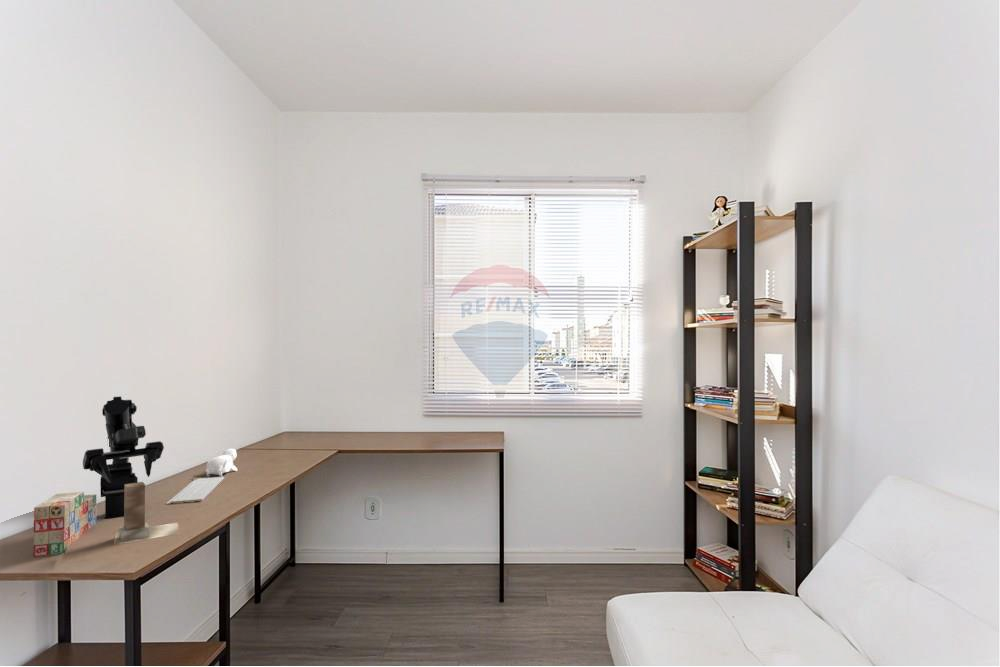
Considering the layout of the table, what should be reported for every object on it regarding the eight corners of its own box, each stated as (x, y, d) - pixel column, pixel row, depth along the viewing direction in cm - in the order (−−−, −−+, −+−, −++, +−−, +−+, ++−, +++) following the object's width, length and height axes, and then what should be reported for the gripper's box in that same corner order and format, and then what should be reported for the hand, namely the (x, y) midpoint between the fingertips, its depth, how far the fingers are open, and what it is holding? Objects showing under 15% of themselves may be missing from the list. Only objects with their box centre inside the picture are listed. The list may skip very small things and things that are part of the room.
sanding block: (121, 542, 136) (121, 488, 136) (119, 537, 139) (119, 484, 140) (149, 536, 140) (149, 484, 140) (146, 531, 143) (146, 480, 144)
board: (113, 549, 134) (113, 544, 134) (115, 536, 143) (115, 532, 143) (179, 538, 142) (179, 533, 142) (177, 526, 151) (177, 522, 151)
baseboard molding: (160, 506, 172) (202, 503, 176) (160, 497, 172) (202, 494, 176) (189, 483, 202) (224, 480, 206) (189, 475, 202) (224, 473, 206)
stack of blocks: (70, 529, 150) (70, 485, 150) (97, 527, 152) (97, 483, 152) (32, 558, 130) (33, 506, 130) (64, 554, 132) (64, 503, 132)
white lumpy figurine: (226, 483, 211) (245, 461, 225) (222, 465, 208) (241, 444, 222) (205, 483, 212) (225, 461, 226) (200, 465, 209) (221, 444, 223)
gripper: (85, 421, 149) (94, 467, 141) (162, 414, 163) (174, 456, 155) (78, 446, 154) (87, 492, 146) (153, 437, 168) (165, 479, 160)
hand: (130, 478), depth 152 cm, fingers open, 9 cm apart
